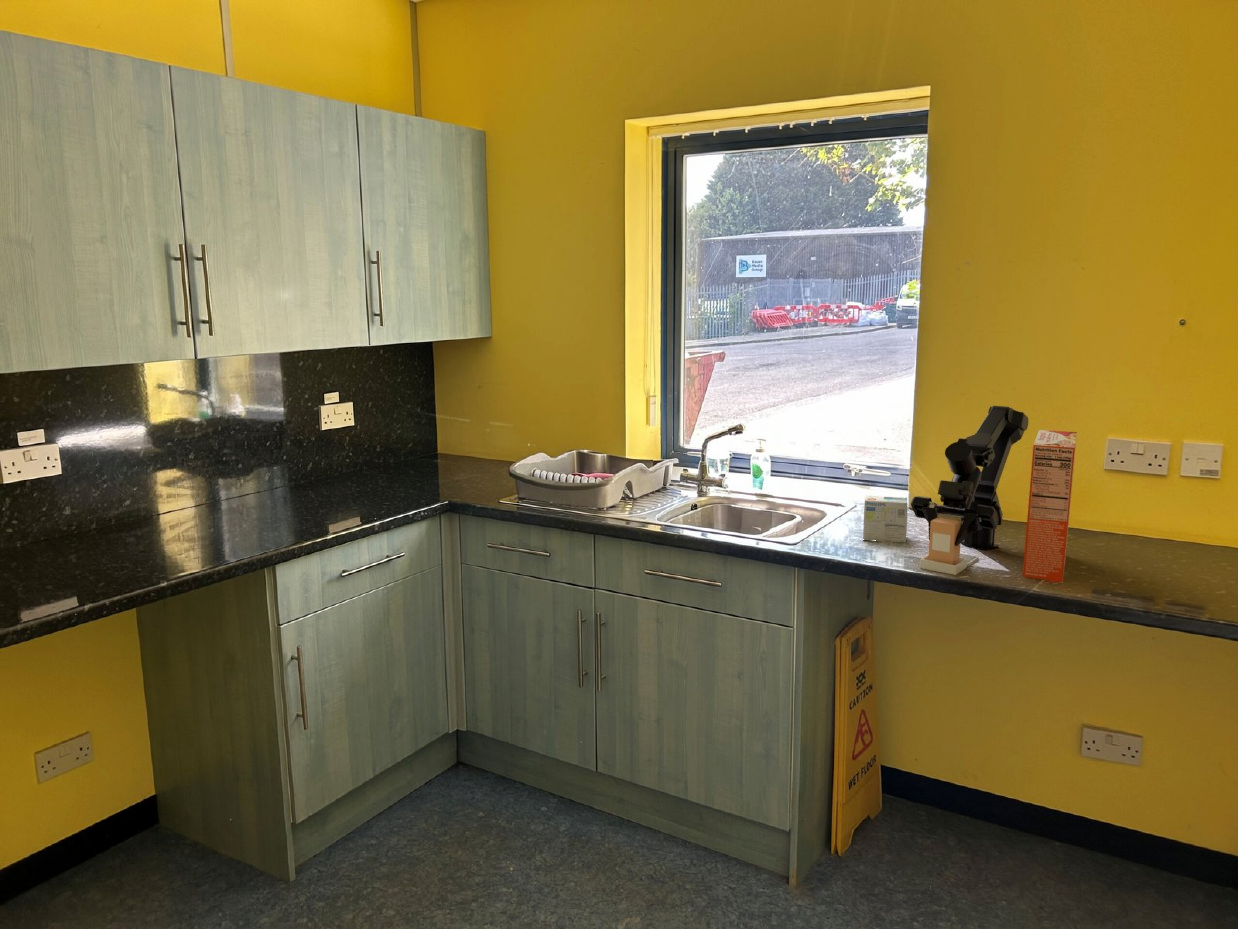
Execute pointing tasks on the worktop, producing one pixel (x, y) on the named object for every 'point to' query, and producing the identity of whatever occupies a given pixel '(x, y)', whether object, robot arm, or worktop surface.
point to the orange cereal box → (1049, 505)
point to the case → (943, 566)
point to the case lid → (969, 558)
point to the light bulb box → (885, 518)
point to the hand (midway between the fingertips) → (942, 542)
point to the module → (944, 541)
